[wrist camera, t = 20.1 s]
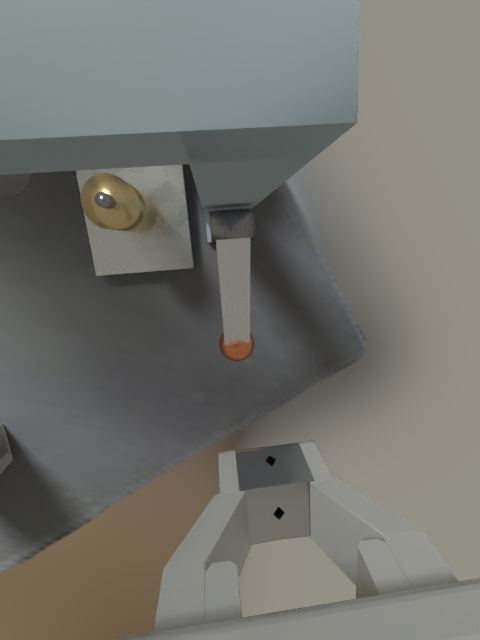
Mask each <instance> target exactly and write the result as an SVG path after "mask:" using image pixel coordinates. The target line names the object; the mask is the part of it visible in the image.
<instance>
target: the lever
mask: <svg viewBox="0 0 480 640" xmlns="http://www.w3.org/2000/svg"><path fill="white" fill-rule="evenodd" d="M209 220H210V231H211V241H212V243H216V249H217V261H218V273H219V285H220V297H221V309H222V321H223V333H222V335H221V337H220V340H219V347H220V351H221V353H222V354H223V355H224V356H225V357H226V358H227V359H229V360H232V361H241V360H244V359H246V358H247V357H248V356H249V355H250V354H251V353H252V351H253V347H254V340H253V337H252V335H251V333H250V240H255V215H254V210H253V208H245V209H230V210H215V211H209Z"/></svg>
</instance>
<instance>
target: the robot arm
mask: <svg viewBox="0 0 480 640" xmlns="http://www.w3.org/2000/svg"><path fill="white" fill-rule="evenodd" d="M235 452H236V454H235ZM218 458H219V488H220V494H217V495H214V497H213V498H212V499H211V501H210V502H209V504H208V505H207V507H206V508H205V510H204V511H203V513H202V514H201V515H200V517H199V518H198V520H197V521H196V523H195V524H194V525H193V527H192V528H191V530H190V531H189V533H188V534H187V536H186V537H185V539H184V540H183V541H182V543H181V544H180V546H179V547H178V549H177V550H176V551H175V553H174V554H173V556H172V557H171V559H170V560H169V562H168V563H167V564H166V566H165V567H164V569H163V576H162V582H161V588H160V595H159V602H158V608H157V615H156V622H155V629H154V632H153V633H147V634H142V635H136V636H130V637H124V638H117V639H112V640H480V578H478V579H471V580H465V581H458V580H457V579H456V577H455V576H454V575H453V573H452V572H451V570H450V569H449V568H448V566H447V565H446V563H445V562H444V561H443V559H442V558H441V557H440V556H439V554H438V552H437V551H436V550H435V548H434V547H433V545H432V544H431V543H430V541H429V540H428V539H427V537H426V536H425V535H424V533H423V532H422V530H420V529H419V528H417V527H416V526H414V525H413V524H411V523H409V522H408V521H406V520H405V519H403V518H402V517H400V516H398V515H396V514H395V513H394V512H392V511H390V510H389V509H387V508H386V507H384V506H383V505H381V504H379V503H378V502H376V501H375V500H373V499H372V498H370V497H368V496H367V495H365V494H364V493H362V492H361V491H359V490H357V489H356V488H354V487H353V486H351V485H349V484H348V483H346V482H345V481H343V480H342V479H340V478H334V477H333V475H332V473H331V472H330V470H329V468H328V466H327V464H326V462H325V460H324V458H323V456H322V454H321V452H320V451H319V449H318V447H317V445H316V443H315V442H314V441H313V440H310V441H303V442H297V443H293V444H285V445H278V446H270V447H261V448H251V449H240V450H235V451H234V450H233V451H224V452H219V455H218ZM306 536H311V539H312V540H313V541H314V542H315V543H316V544H317V545H318V546H319V547H320V548H321V549H322V550H323V551H324V552H325V553H326V554H327V556H328V557H329V558H330V559H331V560H332V561H333V562H334V563H335V564H336V565H337V566H338V567H339V568H340V569H341V570H342V572H344V574H345V575H346V576H347V577H348V578H349V579H350V580H351V581H352V582H353V583H354V584H355V585H356V599H352V600H346V601H340V602H334V603H328V604H322V605H316V606H310V607H304V608H298V609H291V610H285V611H280V612H274V613H268V614H262V615H256V616H250V617H243V618H242V612H241V602H240V592H239V582H238V578H239V576H240V573H241V571H242V568H243V565H244V563H245V560H246V558H247V555H248V552H249V550H250V545H253V544H259V543H264V542H269V541H275V540H281V539H288V538H298V537H306Z"/></svg>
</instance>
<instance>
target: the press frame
mask: <svg viewBox="0 0 480 640" xmlns="http://www.w3.org/2000/svg"><path fill="white" fill-rule="evenodd" d="M359 35H360V0H0V200H3V199H9V198H12V197H14V196H16V195H18V194H19V193H21V192H22V191H23V190H24V189H25V188H26V186H27V185H28V183H29V181H30V178H31V175H32V173H44V172H61V171H79V170H97V169H114V168H132V167H149V166H167V165H185V164H190V167H191V171H192V174H193V178H194V181H195V185H196V188H197V192H198V195H199V199H200V202H201V206H202V209H203V213H204V216H205V220H206V229H207V239H208V242H212V241H211V231H210V220H209V211H215V210H230V209H245V208H253V207H255V206H256V205H257V204H258V203H259V202H261V201H262V200H263V199H264V198H266V197H267V196H268V195H269V194H270V193H272V192H273V191H274V190H275V189H277V188H278V187H279V186H280V185H281V184H283V183H284V182H285V181H286V180H288V179H289V178H290V177H291V176H292V175H294V174H295V173H296V172H297V171H299V170H300V169H301V168H302V167H303V166H305V165H306V164H307V163H308V162H310V161H311V160H312V159H313V158H315V157H316V156H317V155H318V154H319V153H320V152H322V151H323V150H324V149H325V148H327V147H328V146H329V145H330V144H332V143H333V142H334V141H335V140H337V139H338V138H339V137H340V136H341V135H342V134H344V133H345V132H346V131H348V130H349V129H350V128H351V127H352V126H354V125H355V124H356V123H357V112H358V110H357V109H358V73H359Z"/></svg>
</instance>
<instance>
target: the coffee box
mask: <svg viewBox="0 0 480 640" xmlns="http://www.w3.org/2000/svg"><path fill="white" fill-rule="evenodd" d="M12 461H13V457H12V453H11V450H10V446H9V442H8V438H7V435H6V431H5V427H4V425H0V474H1V473H2V472H3V471H4V469H5V468H6V467H7V466H8V465H9V464H10V463H11V462H12Z"/></svg>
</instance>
